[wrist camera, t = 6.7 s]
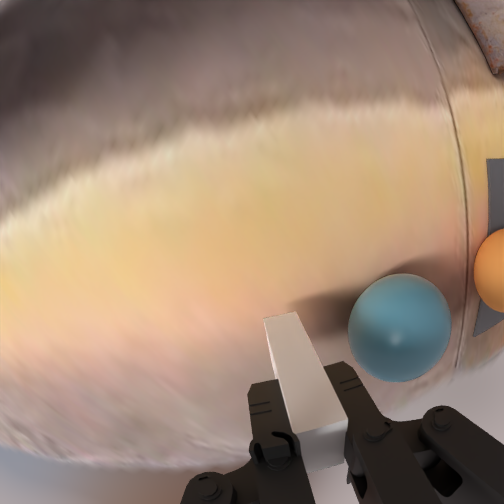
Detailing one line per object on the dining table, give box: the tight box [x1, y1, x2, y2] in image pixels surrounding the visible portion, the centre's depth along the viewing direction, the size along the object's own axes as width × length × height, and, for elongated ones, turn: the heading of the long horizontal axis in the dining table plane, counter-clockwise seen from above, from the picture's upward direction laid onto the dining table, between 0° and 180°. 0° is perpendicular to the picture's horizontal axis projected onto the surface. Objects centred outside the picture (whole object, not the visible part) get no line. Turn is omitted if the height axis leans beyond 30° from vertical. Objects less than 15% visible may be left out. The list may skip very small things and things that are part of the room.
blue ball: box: [348, 273, 452, 382], centre depth 13 cm, size 6×6×6 cm
